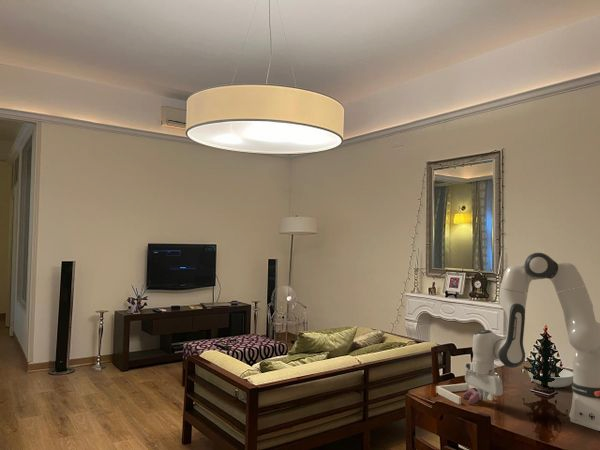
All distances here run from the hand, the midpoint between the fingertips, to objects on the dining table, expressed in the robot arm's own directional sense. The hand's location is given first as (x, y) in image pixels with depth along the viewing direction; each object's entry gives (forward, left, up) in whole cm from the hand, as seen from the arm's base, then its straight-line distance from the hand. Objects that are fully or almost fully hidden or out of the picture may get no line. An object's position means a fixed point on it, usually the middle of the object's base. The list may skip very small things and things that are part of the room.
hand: (483, 399), depth 206 cm
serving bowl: (+16, -54, -3) cm, 57 cm away
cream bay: (+13, 0, -3) cm, 13 cm away
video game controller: (+6, +1, -3) cm, 7 cm away
